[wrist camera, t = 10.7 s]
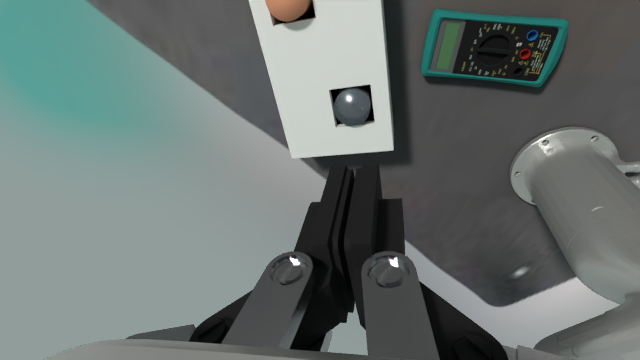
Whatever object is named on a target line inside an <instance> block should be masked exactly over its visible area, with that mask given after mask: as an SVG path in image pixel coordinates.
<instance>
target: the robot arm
mask: <svg viewBox="0 0 640 360" xmlns="http://www.w3.org/2000/svg"><path fill="white" fill-rule="evenodd" d="M543 140H544V141H543ZM626 172H633V173H634V172H640V161H635V162H627V163H625V162H624V161H621V160H620V159H619V156H618V151H617V149H616V147H615V145H614V144H613V143H612V142H611V140H610V139H609V138H607V137H606V136H605V135H604V134H602V133H600V132H598V131H596V130H594V129H590V128H586V127H564V128H560V129H555V130H552V131H549V132H546V133H544V134H542V135H540V136H538V137H536V138H534V139H533V140H531V141H530V142H529V143H527V144H526V145H525V146H524V147H523V148H522V149H521V150H520V151H519V152H518V153H517V155H516V156H515V158H514V160H513V162H512V164H511V167H510V172H509V175H510V182H511V185H512V187H513V189H514V191H515V192H516V194H517V195H518V196H519V197H520V198H522V199H523V200H524V201H526V202H528V203H530V204H532V205H536V206H537V208H538V209H539V211H540V213H541V215H542V217H543V218H544V220H545V222H546V224H547V226H548V227H549V229H550V231H551V233H552V235H553V236H554V238H555V240H556V242H557V244H558V245H559V247H560V249H561V251H562V253H563V254H564V256H565V258H566V260H567V262H568V263H569V265H570V267H571V268H572V270H573V272H574V273H575V275H576V276H577V277H578V279H579V280H581V282H582V283H583V284H584V285H586V286H587V287H588V288H590V289H591V290H592V291H594V292H595V293H597V294H599V295H601V296H603V297H604V298H607V299H609V300H611V301H614V302H616V303H618V304H620V306H618V307H616V308H614V309H611V310H609V311H607V312H605V313H604V314H602V315H599V316H597V317H594V318H592V319H589V320H587V321H584V322H582V323H579V324H577V325H574V326H572V327H569V328H567V329H564V330H562V331H559V332H557V333H554V334H552V335H550V336H548V337H546V338H544V339H542V340H541V341H540V342H538V343H537V344H536V345H535V347H534V348H533V349H531V348H527V347H524V346H520V345H518V346H517V349H514V348H511V347H507V346H503V345H501V344H500V343H499V342H498V341H497V340H496V339H495V338H494V337H493V336H492V335H491V334H489V333H488V332H487V331H485V330H484V329H483V328H481V327H480V326H479V325H477V324H476V323H475V322H473V321H472V320H471V319H469V318H468V317H466V316H465V315H464V314H463V313H461V312H460V311H458V310H457V309H456V308H454V307H453V306H452V305H450V304H449V303H448V302H446V301H445V300H444V299H442V298H441V297H440V296H438V295H437V294H436V293H434V292H433V291H432V290H430V289H429V288H428V287H426V286H425V285H424V284H422V283H421V282H420V281H419V279H418V276H417V272H416V268H415V266H414V264H413V262H412V261H411V260H410V259H409V258H408V257H407V256H405V243H404V242H405V241H404V221H403V207H402V198H401V199H383V198H382V190H381V181H380V172H379V165H378V163H373V164H362V168H359V169H357V170H356V175H355V178H354V172H353V169H348V168H347V166H346V165H345V166H332V167H331V168H330V172H329V175H328V178H327V181H326V185H325V188H324V191H323V195H322V198H321V201H320V202H312V203H311V204H310V206H309V208H308V212H307V214H306V217H305V220H304V223H303V226H302V229H301V232H300V235H299V238H298V241H297V244H296V247H295V249H294V252H287V253H283V254H281V255H279V256H277V257H276V258H274V259H273V260H272V261H271V262H270V263H269V264H268V266H267V267H266V269H265V271H264V272H263V274H262V276H261V277H260V279H259V281H258V282H257V284H256V286H255V287H254V289H253V290H252V291H251V292H249V293H247V294H246V295H244V296H243V297H241V298H239V299H238V300H236V301H235V302H234V303H231V304H230V305H228V306H227V307H225V308H223V309H222V310H220V311H219V312H217V313H216V314H214V315H212V316H211V317H209V318H208V319H206V320H205V321H204V322H202V323H201V324H200V325H199V326H198V327H197V328H195V326H194V325H186V326H181V327H175V328H169V329H163V330H157V331H152V332H146V333H141V334H136V335H133V336H130V337H128V338H126V339H118V340H107V341H99V342H94V343H90V344H84V345H80V346H77V347H74V348H71V349H68V350H64V351H62V352H59V353H57V354H55V355H52V356H50V357H48V358H46V359H44V360H640V176H631V177H627V176H626V175H625V173H626ZM355 303H356V308H357V312H358V315H359V320H360V325H361V326H362V327H363V328H364V329H365V330H366V335H367V336H366V337H367V349H368V356H366V355H355V354H342V353H330V352H327V350H328V348H329V345H330V341H331V337H332V329H333V328H334V327H335V326H337V325H338V324H339V323H346V322H347V315H348V312H352V313H353V311H354V304H355Z"/></svg>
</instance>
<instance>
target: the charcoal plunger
mask: <svg viewBox="0 0 640 360" xmlns="http://www.w3.org/2000/svg"><path fill="white" fill-rule="evenodd" d="M371 101H372V94H371V85H362V86H354V87H347V88H340V91H339V93H338V96H337V98H336V101H335V103H334V113H335V115H336V117H337V119H338V120H339V121H340V122H342V123H343V124H346V125H350V126H355V125H359V124H361V123H363V122H364V121H365V120H366V119H367V118H368V116H369V113H370V107H371Z"/></svg>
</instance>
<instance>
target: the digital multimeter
mask: <svg viewBox="0 0 640 360" xmlns="http://www.w3.org/2000/svg"><path fill="white" fill-rule="evenodd" d="M532 25H533V26H532ZM568 25H569V23H568V21H566V20H563V19H561V18H543V17H518V16H500V15H489V14H478V13H469V12H461V11H453V10H445V9H435V10H433V12H432V15H431V18H430V21H429V25H428V28H427V32H426V36H425V40H424V45H423V51H422V57H421V65H420V71H421V74H422V75H423V76H436V77H455V78H467V79H479V80H489V81H496V82H504V83H512V84H519V85H525V86H532V87H540V86H542V84H543V83H544V82H545V80H546V79H547V77H548V76H549V75H550V73H551V72H552V70H553V69H554V67H555V65H556V64H557V62H558V60H559V58H560V55H561V53H562V51H563V47H564V44H565V40H566V36H567V30H568ZM545 26H546V27H545ZM556 36H557V37H556ZM553 43H554V44H553ZM550 50H551V51H550ZM548 55H549V56H548ZM545 62H546V63H545ZM542 69H543V70H542ZM523 80H524V81H523Z"/></svg>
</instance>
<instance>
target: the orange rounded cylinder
mask: <svg viewBox="0 0 640 360" xmlns="http://www.w3.org/2000/svg"><path fill="white" fill-rule="evenodd" d="M265 2H266V6H267V8H268V10H269V11H270V13H271V14H272V15H273V16H274V17H275V18H277V19H279V20H281V21H285V22H288V21H293V20H295V19H297V18H298V17H300V16H301V15H303V14H304V13H306V12H307V11H309V10H310V9H311V8H312V7H313V0H265Z"/></svg>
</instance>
